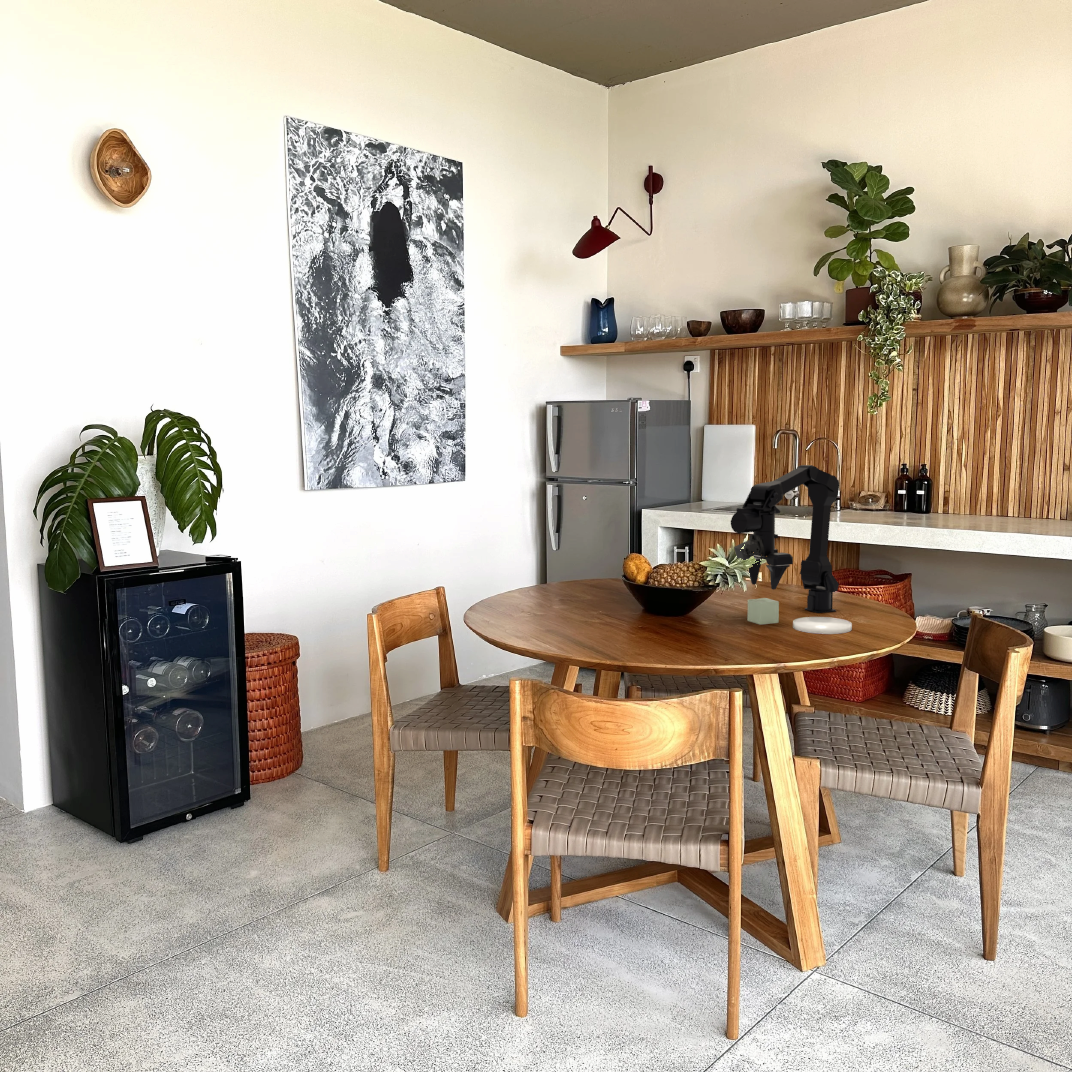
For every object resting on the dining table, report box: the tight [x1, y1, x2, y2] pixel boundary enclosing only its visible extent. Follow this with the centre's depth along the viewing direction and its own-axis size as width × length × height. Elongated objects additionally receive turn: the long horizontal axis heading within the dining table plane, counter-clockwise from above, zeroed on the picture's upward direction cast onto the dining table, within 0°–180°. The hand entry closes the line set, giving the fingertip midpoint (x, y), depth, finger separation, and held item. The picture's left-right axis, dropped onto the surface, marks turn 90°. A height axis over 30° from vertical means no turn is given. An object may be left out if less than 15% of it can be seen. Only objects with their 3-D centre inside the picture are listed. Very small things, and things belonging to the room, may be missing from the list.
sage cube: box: [747, 597, 780, 625], centre depth 268 cm, size 6×6×6 cm
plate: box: [792, 616, 853, 635], centre depth 259 cm, size 15×15×2 cm
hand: (763, 586), depth 268 cm, fingers open, 9 cm apart
